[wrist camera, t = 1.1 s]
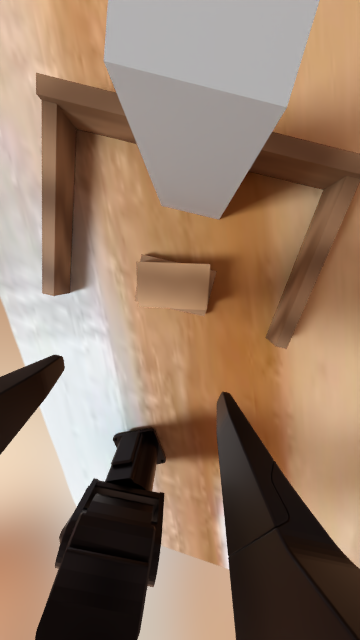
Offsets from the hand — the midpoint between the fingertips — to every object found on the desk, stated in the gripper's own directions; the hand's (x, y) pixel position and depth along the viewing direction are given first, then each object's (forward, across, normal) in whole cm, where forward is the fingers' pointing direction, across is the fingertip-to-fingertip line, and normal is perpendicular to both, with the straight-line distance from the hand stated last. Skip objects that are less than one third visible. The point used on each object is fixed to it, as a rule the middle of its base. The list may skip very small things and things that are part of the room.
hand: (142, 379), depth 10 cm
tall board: (+14, 0, -11) cm, 18 cm away
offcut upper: (+11, 0, -2) cm, 12 cm away
